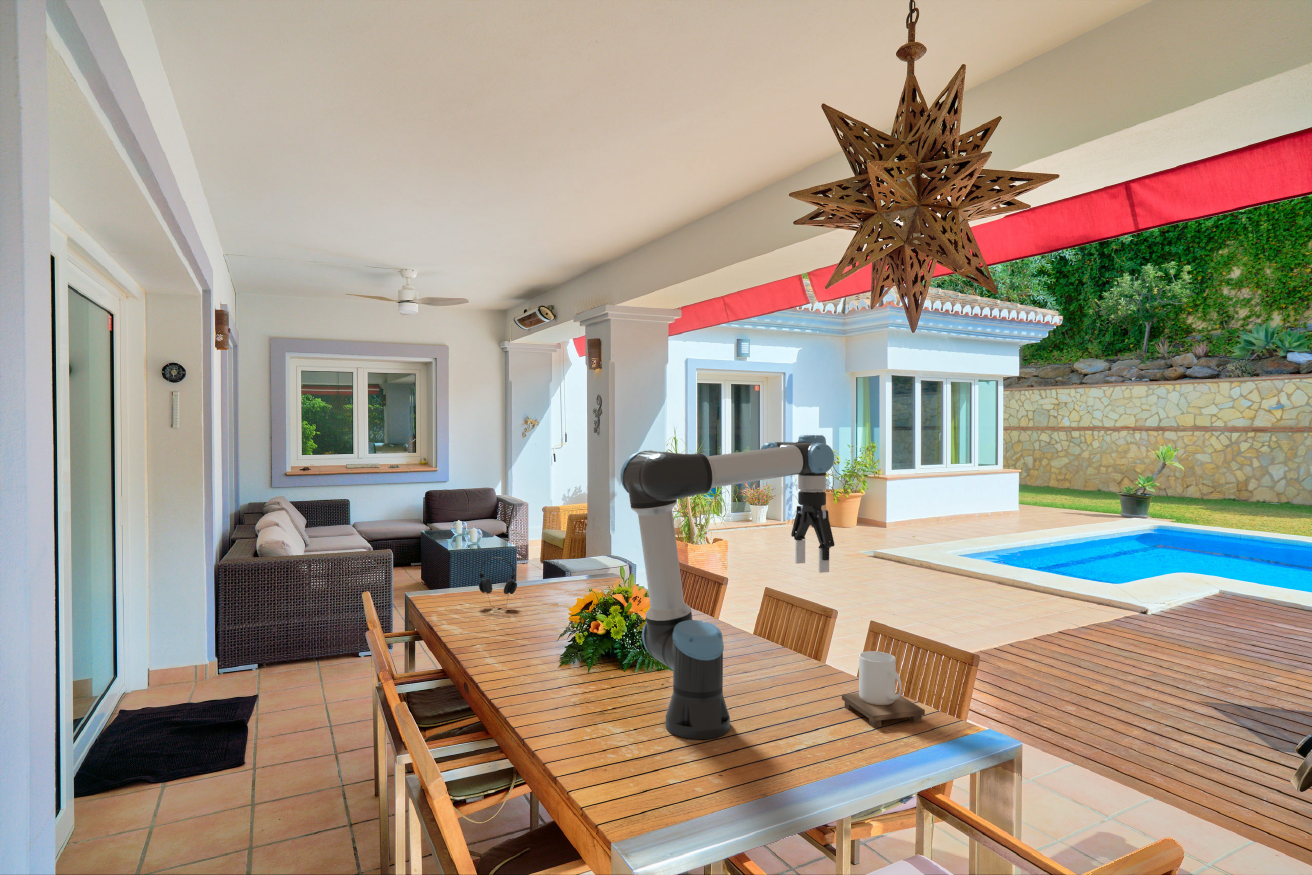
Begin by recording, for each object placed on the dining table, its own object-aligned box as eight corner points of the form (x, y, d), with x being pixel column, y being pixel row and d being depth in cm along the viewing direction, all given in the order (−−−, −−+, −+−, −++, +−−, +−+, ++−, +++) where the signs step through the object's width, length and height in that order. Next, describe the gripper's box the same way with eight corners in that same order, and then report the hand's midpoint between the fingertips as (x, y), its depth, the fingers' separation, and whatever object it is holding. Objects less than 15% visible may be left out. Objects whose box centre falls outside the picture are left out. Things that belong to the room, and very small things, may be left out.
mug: (887, 713, 168) (887, 667, 167) (851, 696, 178) (851, 653, 178) (913, 707, 171) (914, 662, 171) (877, 691, 182) (877, 649, 182)
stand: (873, 728, 166) (873, 715, 166) (841, 706, 180) (841, 694, 180) (924, 722, 170) (924, 709, 170) (890, 700, 183) (890, 689, 183)
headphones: (471, 612, 272) (471, 560, 272) (482, 605, 284) (483, 555, 284) (508, 614, 270) (508, 561, 270) (519, 606, 281) (519, 556, 281)
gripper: (848, 494, 186) (847, 575, 186) (803, 487, 210) (802, 559, 210) (822, 494, 184) (821, 576, 184) (779, 487, 208) (779, 560, 208)
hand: (811, 567), depth 197 cm, fingers open, 13 cm apart
